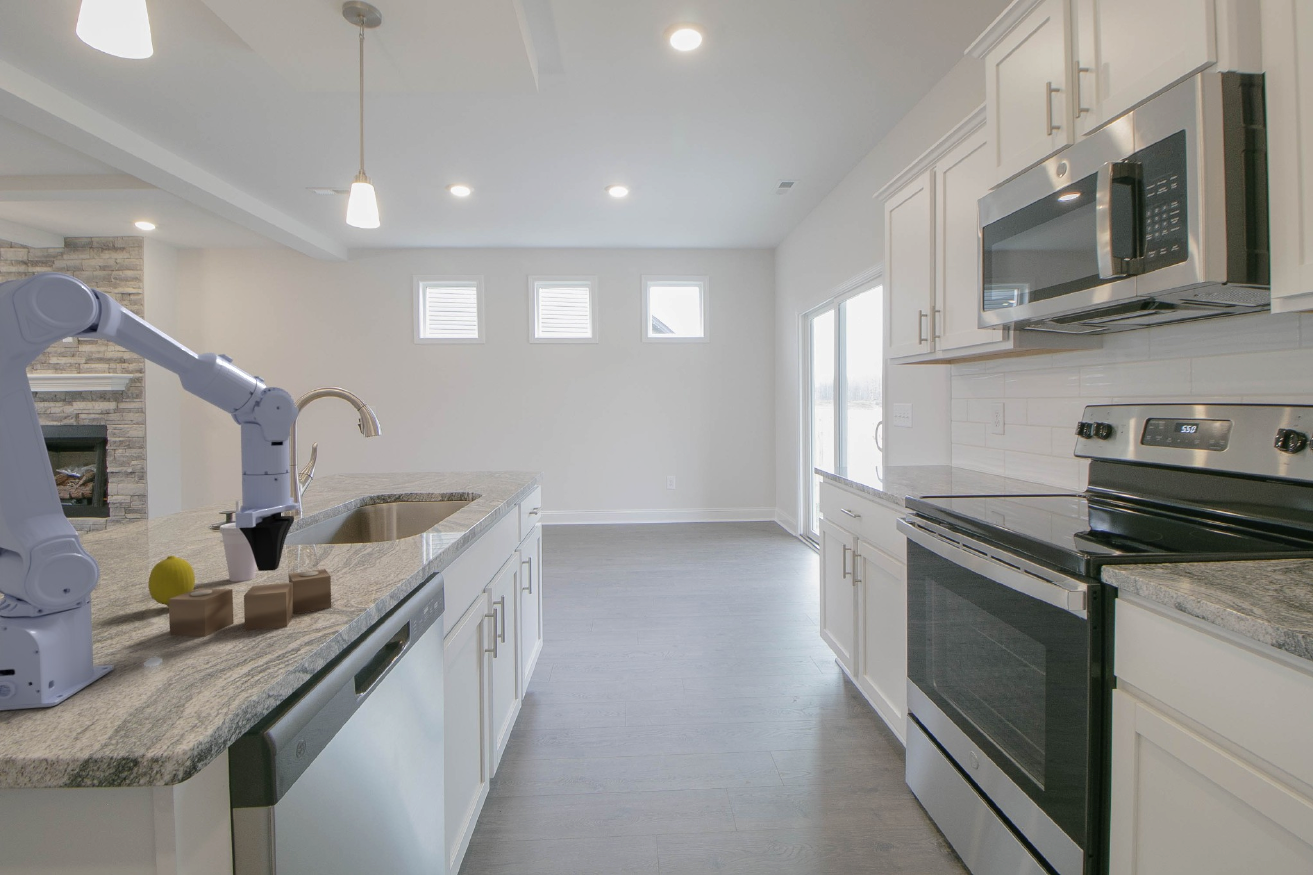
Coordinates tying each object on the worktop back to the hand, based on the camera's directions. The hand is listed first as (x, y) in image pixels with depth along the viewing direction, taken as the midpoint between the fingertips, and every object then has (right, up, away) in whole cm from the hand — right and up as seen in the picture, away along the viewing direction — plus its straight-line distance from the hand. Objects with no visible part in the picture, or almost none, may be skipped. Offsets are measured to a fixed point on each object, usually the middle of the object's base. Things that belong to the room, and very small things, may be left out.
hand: (268, 569), depth 88 cm
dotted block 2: (+2, -7, +8) cm, 11 cm away
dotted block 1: (-8, -8, -2) cm, 11 cm away
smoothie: (-19, -7, +23) cm, 31 cm away
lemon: (-19, -7, +7) cm, 21 cm away
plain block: (0, -8, 0) cm, 8 cm away
